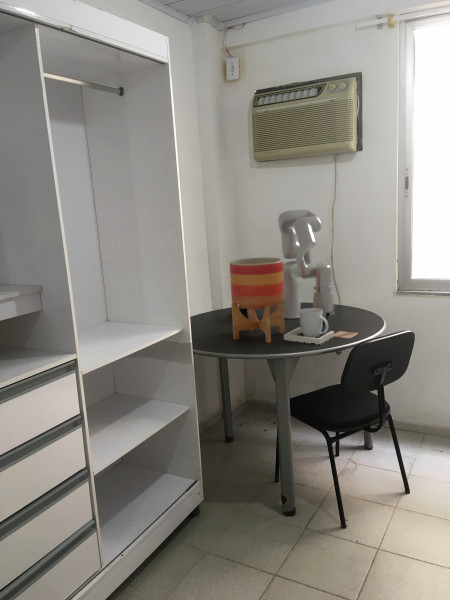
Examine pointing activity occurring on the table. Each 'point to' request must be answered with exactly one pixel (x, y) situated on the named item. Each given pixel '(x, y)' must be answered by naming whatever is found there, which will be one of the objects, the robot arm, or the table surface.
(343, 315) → the table surface
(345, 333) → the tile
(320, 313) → the mug
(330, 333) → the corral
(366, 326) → the table surface
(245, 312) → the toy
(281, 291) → the planter
